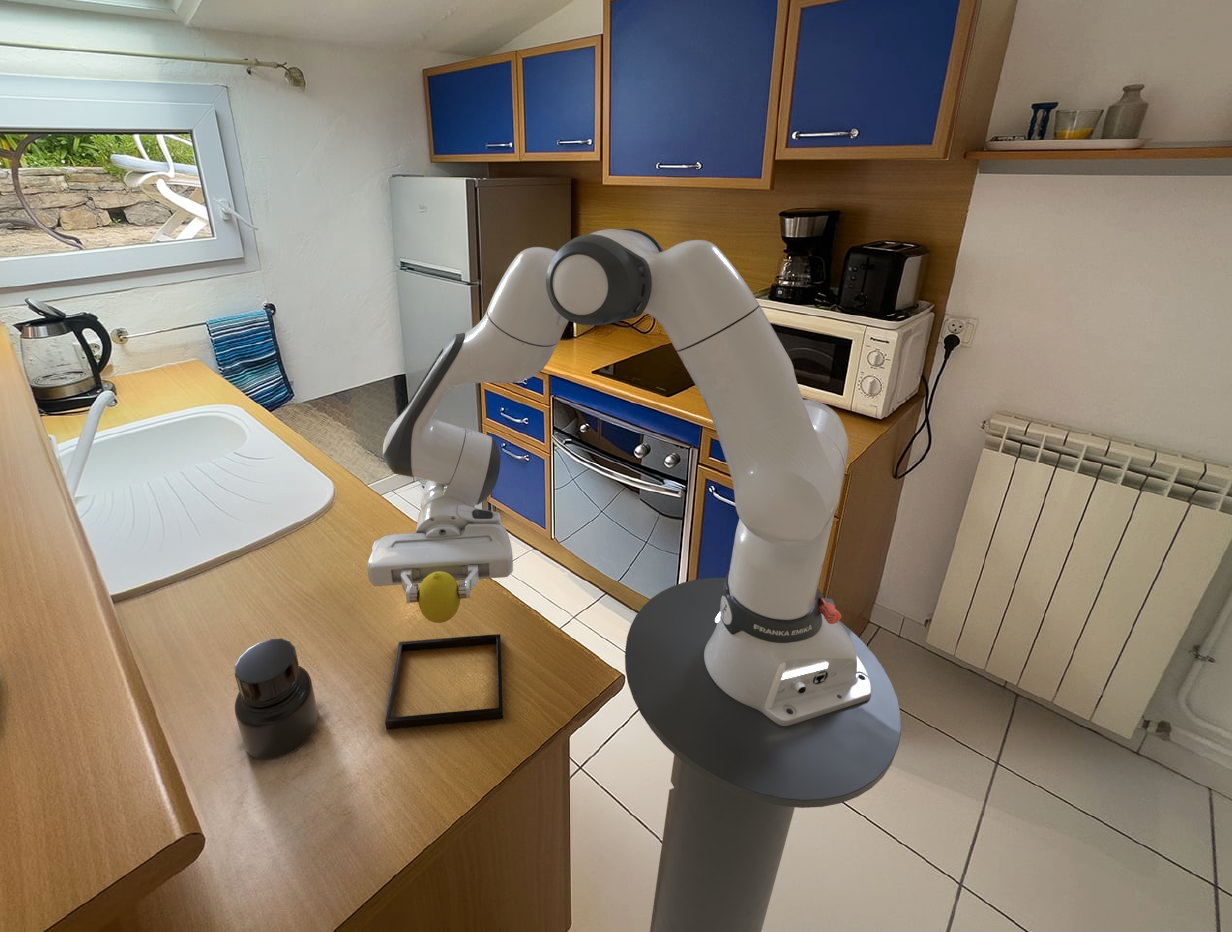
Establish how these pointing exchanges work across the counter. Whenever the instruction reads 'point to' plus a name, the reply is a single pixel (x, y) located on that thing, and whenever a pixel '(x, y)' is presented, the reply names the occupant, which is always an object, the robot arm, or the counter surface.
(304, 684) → the ink bottle
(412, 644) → the black square frame
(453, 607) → the lemon
